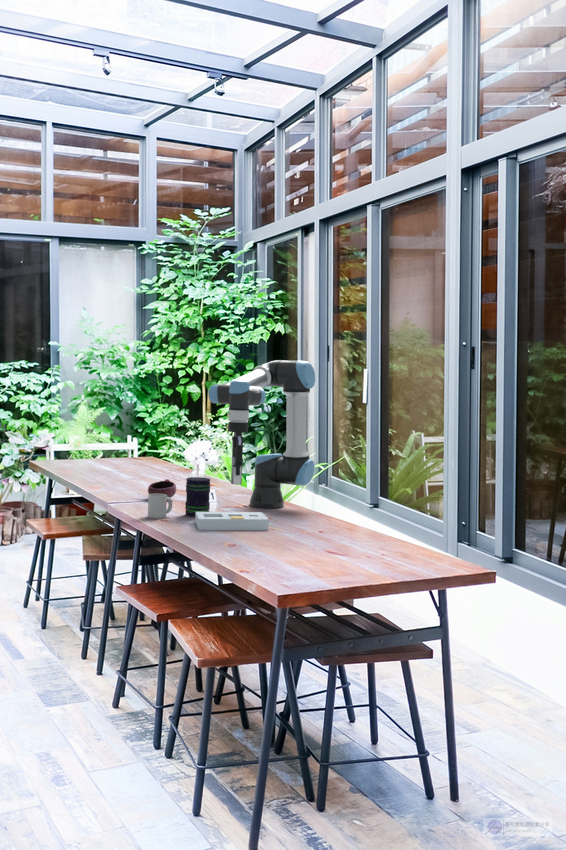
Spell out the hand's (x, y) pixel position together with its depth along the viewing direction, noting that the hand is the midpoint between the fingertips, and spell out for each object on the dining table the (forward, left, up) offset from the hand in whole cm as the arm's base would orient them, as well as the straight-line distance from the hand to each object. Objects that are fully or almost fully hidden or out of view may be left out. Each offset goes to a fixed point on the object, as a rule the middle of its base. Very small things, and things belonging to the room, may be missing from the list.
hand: (236, 482), depth 308 cm
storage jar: (-23, -12, -17) cm, 31 cm away
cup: (-19, -27, -17) cm, 37 cm away
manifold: (0, -1, -17) cm, 17 cm away
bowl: (-66, -25, -17) cm, 73 cm away
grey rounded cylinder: (0, 0, 0) cm, 0 cm away
